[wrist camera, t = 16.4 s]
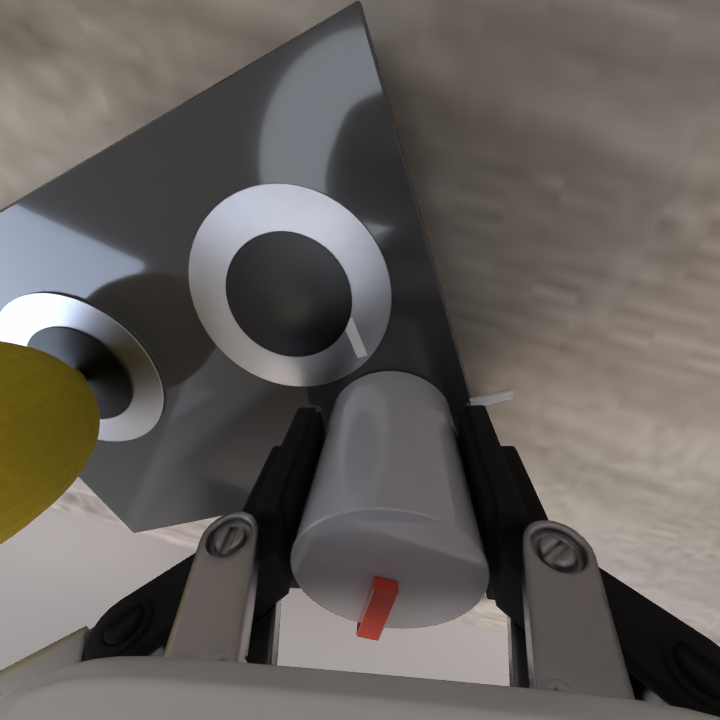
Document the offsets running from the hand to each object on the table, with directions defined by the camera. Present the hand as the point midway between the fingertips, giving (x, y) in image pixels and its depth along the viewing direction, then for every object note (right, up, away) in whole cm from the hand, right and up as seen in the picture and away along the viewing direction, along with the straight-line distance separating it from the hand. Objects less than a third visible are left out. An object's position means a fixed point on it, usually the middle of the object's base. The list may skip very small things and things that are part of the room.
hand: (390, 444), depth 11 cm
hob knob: (0, +1, +1) cm, 1 cm away
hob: (-7, +3, +3) cm, 8 cm away
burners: (-7, +4, 0) cm, 8 cm away
